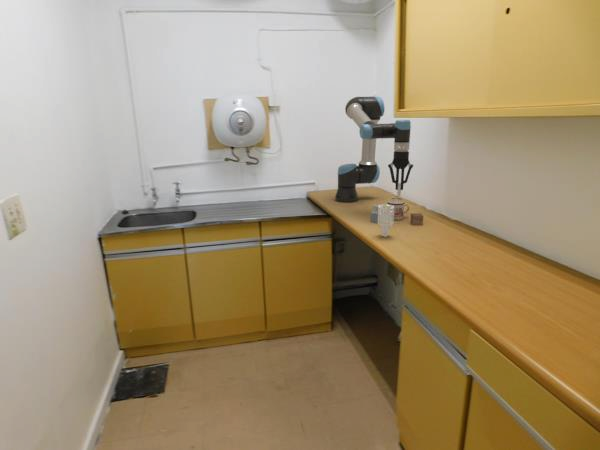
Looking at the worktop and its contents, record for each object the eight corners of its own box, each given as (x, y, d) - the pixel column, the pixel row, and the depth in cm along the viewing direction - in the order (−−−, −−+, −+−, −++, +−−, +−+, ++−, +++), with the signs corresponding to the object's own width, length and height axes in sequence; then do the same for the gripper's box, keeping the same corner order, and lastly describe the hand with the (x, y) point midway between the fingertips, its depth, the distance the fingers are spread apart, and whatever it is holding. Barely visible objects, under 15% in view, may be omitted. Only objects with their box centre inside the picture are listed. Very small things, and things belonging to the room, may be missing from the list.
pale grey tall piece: (379, 238, 168) (380, 206, 163) (375, 233, 174) (376, 202, 170) (394, 237, 168) (396, 205, 164) (390, 233, 175) (391, 202, 171)
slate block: (373, 219, 198) (373, 210, 197) (382, 220, 196) (382, 211, 195) (370, 222, 194) (370, 212, 193) (379, 223, 192) (380, 213, 191)
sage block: (372, 213, 212) (372, 204, 211) (380, 212, 213) (381, 204, 212) (375, 215, 207) (376, 206, 206) (384, 214, 208) (384, 206, 207)
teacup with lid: (389, 220, 196) (390, 198, 193) (384, 216, 205) (385, 195, 202) (411, 219, 197) (412, 198, 194) (405, 215, 206) (406, 194, 203)
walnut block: (410, 222, 192) (410, 213, 191) (420, 222, 192) (420, 213, 191) (412, 225, 188) (413, 215, 186) (422, 225, 187) (423, 215, 186)
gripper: (387, 151, 190) (385, 196, 196) (414, 151, 186) (411, 198, 192) (389, 150, 197) (387, 194, 203) (414, 150, 193) (412, 195, 199)
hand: (398, 195), depth 198 cm, fingers closed
